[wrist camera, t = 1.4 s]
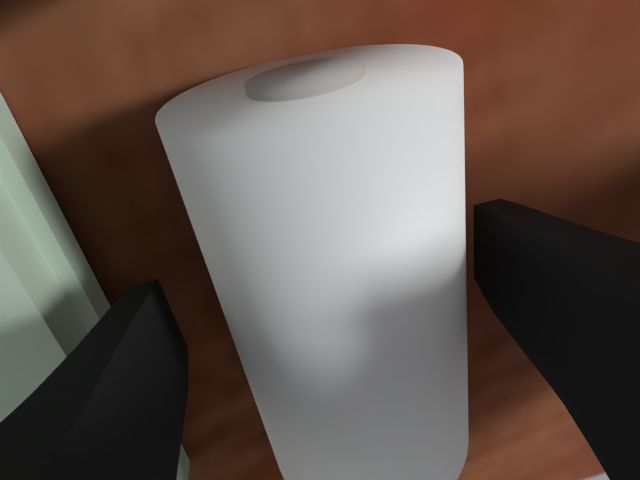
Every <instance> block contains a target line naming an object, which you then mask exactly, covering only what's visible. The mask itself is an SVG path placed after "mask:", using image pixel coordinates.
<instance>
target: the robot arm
mask: <svg viewBox="0 0 640 480" xmlns="http://www.w3.org/2000/svg"><path fill="white" fill-rule="evenodd" d="M474 279H475V280H476V282H477V284H478V286H479V288H480V290H481V291H482V293H483V295H484V297H485V299H486V300H487V302H488V304H489V305H490V307H491V309H492V310H493V312H494V314H495V315H496V316H497V318H498V319H499V320H500V322H501V323H502V324H503V325H504V327H505V328H506V329H507V331H508V332H509V333H510V335H511V336H512V337H513V339H514V340H515V341H516V342H517V344H518V345H519V346H520V347H521V349H522V350H523V351H524V353H525V354H526V355H527V356H528V358H529V359H530V360H531V362H532V363H533V364H534V365H535V367H536V368H537V369H538V370H539V372H540V373H541V374H542V376H543V377H544V378H545V379H546V381H547V382H548V383H549V385H550V386H551V387H552V388H553V390H554V391H555V393H556V394H557V395H558V397H559V398H560V400H561V401H562V402H563V404H564V405H565V407H566V408H567V410H568V412H569V413H570V415H571V416H572V418H573V420H574V421H575V423H576V424H577V426H578V428H579V429H580V431H581V432H582V434H583V435H584V437H585V439H586V440H587V442H588V443H589V445H590V447H591V448H592V450H593V452H594V453H595V455H596V457H597V459H598V460H599V462H600V464H601V465H602V467H603V469H604V470H605V472H606V474H607V475H608V477H609V479H610V480H640V243H637V242H633V241H630V240H626V239H623V238H619V237H616V236H613V235H609V234H606V233H603V232H600V231H596V230H593V229H590V228H587V227H584V226H581V225H578V224H575V223H572V222H569V221H566V220H564V219H561V218H558V217H555V216H552V215H549V214H546V213H543V212H541V211H538V210H535V209H532V208H529V207H526V206H523V205H520V204H517V203H513V202H510V201H506V200H502V199H497V200H493V201H489V202H485V203H480V204H476V205H474ZM187 392H188V350H187V346H186V343H185V341H184V339H183V336H182V334H181V332H180V329H179V327H178V325H177V322H176V320H175V318H174V316H173V313H172V311H171V309H170V306H169V304H168V302H167V299H166V297H165V295H164V292H163V290H162V288H161V285H160V283H159V281H158V280H154V281H149V282H145V283H141V284H137V285H132V286H130V287H129V288H128V289H127V290H126V291H125V292H124V293H123V294H122V295H121V296H120V297H119V298H118V299H117V300H116V302H115V303H114V304H113V305H112V306H111V307H110V309H109V310H108V311H107V312H106V313H105V314H104V315H103V317H102V318H101V319H100V320H99V321H98V322H97V324H96V325H95V326H94V327H93V328H92V329H91V330H90V332H89V333H88V334H87V335H86V336H85V337H84V338H83V340H82V341H81V342H80V343H79V344H78V345H77V346H76V348H75V349H74V350H73V351H72V352H71V353H70V354H69V355H68V356H67V357H66V358H65V359H64V360H63V361H62V362H61V363H60V365H59V366H58V367H57V368H56V369H55V370H54V371H53V372H52V373H51V374H50V375H49V376H48V377H47V378H46V379H45V380H44V381H43V382H42V383H41V384H40V385H39V387H38V388H37V389H36V390H35V391H34V392H33V393H31V394H30V395H29V396H28V397H27V398H26V399H25V400H24V401H23V402H22V403H21V404H20V405H19V406H18V407H17V408H16V409H15V410H14V411H12V412H11V413H10V414H9V415H8V416H7V417H6V418H5V419H4V420H2V421H1V422H0V480H176V478H177V470H178V463H179V455H180V448H181V440H182V433H183V425H184V417H185V409H186V401H187Z"/></svg>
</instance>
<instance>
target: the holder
mask: <svg viewBox="0 0 640 480" xmlns="http://www.w3.org/2000/svg"><path fill="white" fill-rule="evenodd" d="M110 307H111V306H110V304H109V302H108V301H107V299H106V297H105V295H104V293H103V291H102V289H101V287H100V285H99V283H98V281H97V279H96V277H95V275H94V273H93V271H92V269H91V267H90V265H89V264H88V262H87V260H86V258H85V256H84V254H83V252H82V250H81V248H80V246H79V244H78V242H77V240H76V238H75V236H74V234H73V232H72V230H71V229H70V227H69V225H68V223H67V221H66V219H65V217H64V215H63V213H62V211H61V209H60V207H59V205H58V203H57V201H56V199H55V197H54V195H53V193H52V192H51V190H50V188H49V186H48V184H47V182H46V180H45V178H44V176H43V174H42V172H41V170H40V168H39V166H38V164H37V162H36V160H35V158H34V157H33V155H32V153H31V151H30V149H29V147H28V145H27V143H26V141H25V139H24V137H23V135H22V133H21V131H20V129H19V127H18V125H17V123H16V122H15V120H14V118H13V116H12V114H11V112H10V110H9V108H8V106H7V104H6V102H5V100H4V98H3V96H2V94H1V92H0V422H1V421H2V420H4V419H5V418H6V417H7V416H8V415H9V414H10V413H11V412H12V411H14V410H15V409H16V408H17V407H18V406H19V405H20V404H21V403H22V402H23V401H24V400H25V399H26V398H27V397H28V396H29V395H30V394H31V393H33V392H34V391H35V390H36V389H37V388H38V387H39V385H40V384H41V383H42V382H43V381H44V380H45V379H46V378H47V377H48V376H49V375H50V374H51V373H52V372H53V371H54V370H55V369H56V368H57V367H58V366H59V365H60V363H61V362H62V361H63V360H64V359H65V358H66V357H67V356H68V355H69V354H70V353H71V352H72V351H73V350H74V349H75V348H76V346H77V345H78V344H79V343H80V342H81V341H82V340H83V338H84V337H85V336H86V335H87V334H88V333H89V332H90V330H91V329H92V328H93V327H94V326H95V325H96V324H97V322H98V321H99V320H100V319H101V318H102V317H103V315H104V314H105V313H106V312H107V311H108V310H109V309H110ZM189 466H190V460H189V458H188V456H187V454H186V452H185V450H184V448H183V446H182V444H181V448H180V455H179V463H178V470H177V478H176V480H188V478H189Z"/></svg>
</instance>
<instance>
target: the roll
mask: <svg viewBox="0 0 640 480" xmlns="http://www.w3.org/2000/svg"><path fill="white" fill-rule="evenodd" d="M155 123H156V126H157V129H158V132H159V135H160V137H161V140H162V143H163V146H164V149H165V151H166V154H167V157H168V160H169V162H170V165H171V168H172V171H173V174H174V176H175V179H176V182H177V185H178V188H179V190H180V193H181V196H182V199H183V201H184V204H185V207H186V210H187V213H188V215H189V218H190V221H191V224H192V227H193V229H194V232H195V235H196V238H197V240H198V243H199V246H200V249H201V252H202V254H203V257H204V260H205V263H206V266H207V268H208V271H209V274H210V277H211V279H212V282H213V285H214V288H215V291H216V293H217V296H218V299H219V302H220V305H221V307H222V310H223V313H224V316H225V318H226V321H227V324H228V327H229V330H230V332H231V335H232V338H233V341H234V343H235V346H236V349H237V352H238V355H239V357H240V360H241V363H242V366H243V369H244V371H245V374H246V377H247V380H248V382H249V385H250V388H251V391H252V394H253V396H254V399H255V402H256V405H257V408H258V410H259V413H260V416H261V419H262V421H263V424H264V427H265V430H266V433H267V435H268V438H269V441H270V444H271V447H272V449H273V452H274V455H275V458H276V460H277V463H278V466H279V469H280V471H281V474H282V476H283V478H284V480H457V479H458V477H459V476H460V473H461V471H462V469H463V466H464V464H465V460H466V456H467V452H468V442H469V434H468V363H467V292H466V222H465V151H464V81H463V61H462V59H461V58H460V56H459V55H457V54H456V53H454V52H452V51H449V50H446V49H443V48H438V47H433V46H426V45H413V44H384V45H368V46H356V47H348V48H339V49H332V50H325V51H320V52H315V53H310V54H306V55H301V56H296V57H292V58H287V59H282V60H278V61H273V62H268V63H264V64H259V65H255V66H251V67H248V68H244V69H241V70H238V71H235V72H232V73H229V74H226V75H223V76H220V77H217V78H215V79H212V80H209V81H207V82H204V83H202V84H200V85H197V86H195V87H193V88H191V89H189V90H187V91H185V92H183V93H181V94H179V95H178V96H176V97H174V98H173V99H171V100H170V101H168V102H167V103H166V104H165V105H164V106H162V107H161V109H160V110H159V111H158V112H157V114H156V117H155Z"/></svg>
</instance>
